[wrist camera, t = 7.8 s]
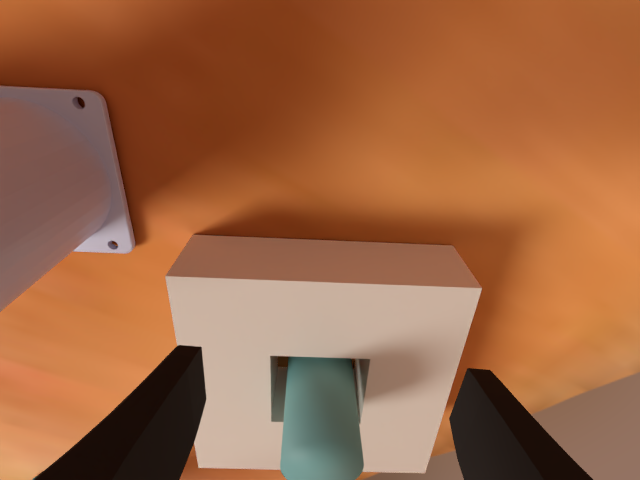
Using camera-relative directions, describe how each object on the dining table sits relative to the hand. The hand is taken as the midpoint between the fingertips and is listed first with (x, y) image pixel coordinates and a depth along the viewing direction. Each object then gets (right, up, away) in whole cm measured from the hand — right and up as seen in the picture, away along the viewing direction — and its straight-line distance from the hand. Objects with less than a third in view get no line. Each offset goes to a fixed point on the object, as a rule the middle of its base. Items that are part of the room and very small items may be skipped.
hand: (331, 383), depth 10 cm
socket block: (0, -2, +13) cm, 13 cm away
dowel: (0, -2, +13) cm, 13 cm away
